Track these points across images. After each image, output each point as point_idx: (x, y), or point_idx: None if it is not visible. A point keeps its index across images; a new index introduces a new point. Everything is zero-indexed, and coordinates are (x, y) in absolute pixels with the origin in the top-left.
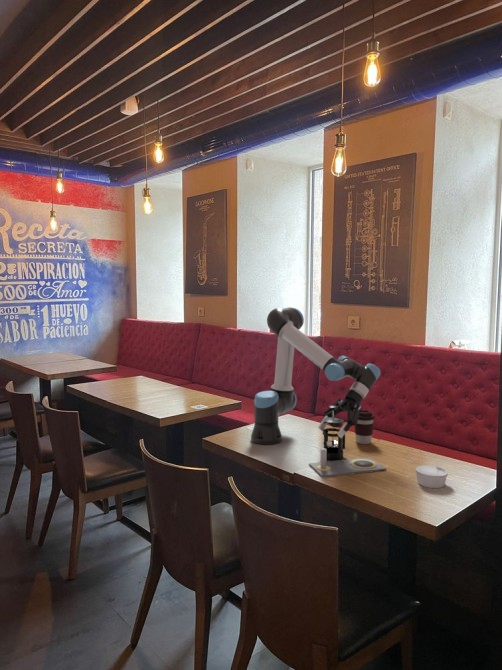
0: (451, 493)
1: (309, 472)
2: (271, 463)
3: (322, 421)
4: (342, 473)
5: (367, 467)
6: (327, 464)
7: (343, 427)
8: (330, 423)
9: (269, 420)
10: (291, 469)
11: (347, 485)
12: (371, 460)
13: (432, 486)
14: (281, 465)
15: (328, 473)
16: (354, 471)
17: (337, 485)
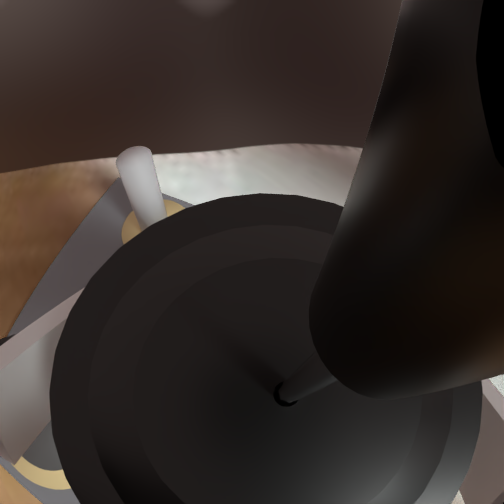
0: None
1: (189, 182)
2: (359, 156)
3: (487, 386)
4: (64, 247)
5: None
6: None
7: (21, 333)
8: (198, 233)
9: None
10: (263, 159)
11: (27, 198)
12: (49, 494)
13: None
14: (322, 163)
15: (108, 205)
16: (32, 299)
17: (52, 177)
